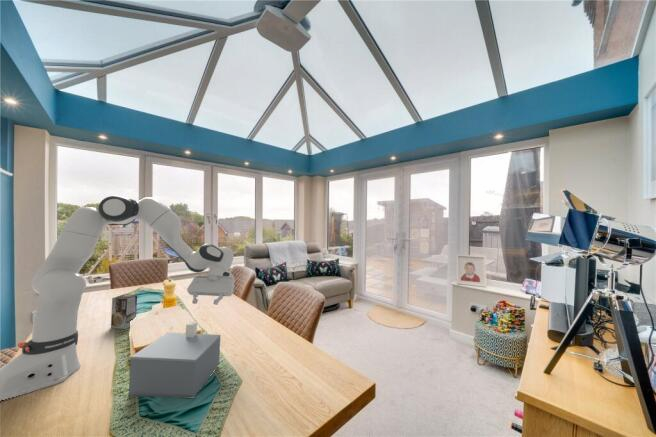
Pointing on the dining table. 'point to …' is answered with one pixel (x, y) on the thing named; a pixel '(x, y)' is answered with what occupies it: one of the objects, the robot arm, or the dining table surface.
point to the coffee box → (123, 311)
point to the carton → (172, 375)
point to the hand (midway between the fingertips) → (204, 303)
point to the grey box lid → (178, 346)
